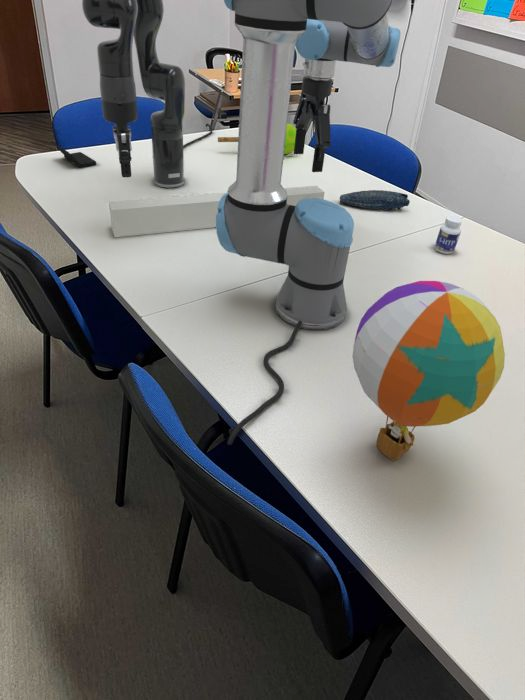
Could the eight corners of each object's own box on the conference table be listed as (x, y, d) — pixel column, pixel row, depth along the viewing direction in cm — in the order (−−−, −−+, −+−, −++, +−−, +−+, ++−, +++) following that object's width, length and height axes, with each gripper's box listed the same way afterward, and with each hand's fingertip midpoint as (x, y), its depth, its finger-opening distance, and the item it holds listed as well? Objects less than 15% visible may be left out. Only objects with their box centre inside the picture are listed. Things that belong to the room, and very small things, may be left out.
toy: (305, 441, 83) (335, 280, 64) (382, 391, 94) (427, 241, 75) (403, 527, 72) (474, 363, 53) (477, 460, 83) (558, 303, 64)
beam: (313, 209, 155) (316, 185, 150) (320, 216, 151) (324, 192, 147) (111, 228, 136) (108, 201, 131) (114, 237, 132) (111, 209, 128)
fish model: (408, 214, 157) (412, 198, 153) (339, 207, 158) (341, 191, 154) (406, 206, 162) (410, 190, 159) (339, 199, 163) (341, 183, 160)
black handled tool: (101, 157, 170) (79, 135, 162) (89, 175, 169) (67, 154, 161) (80, 153, 176) (58, 132, 168) (69, 170, 175) (46, 149, 167)
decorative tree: (215, 117, 188) (295, 117, 193) (215, 147, 195) (292, 146, 200) (221, 131, 174) (307, 131, 180) (221, 163, 181) (304, 161, 186)
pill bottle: (433, 251, 139) (442, 220, 133) (435, 243, 143) (444, 213, 137) (453, 256, 138) (464, 225, 132) (454, 247, 142) (465, 217, 136)
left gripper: (99, 88, 118) (107, 160, 128) (102, 105, 108) (110, 181, 118) (133, 89, 120) (138, 159, 130) (139, 105, 110) (144, 181, 120)
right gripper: (286, 65, 137) (279, 147, 151) (324, 90, 119) (312, 180, 133) (312, 66, 139) (303, 146, 153) (353, 90, 121) (338, 178, 135)
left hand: (125, 170), depth 124 cm, fingers open, 8 cm apart
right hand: (307, 162), depth 143 cm, fingers open, 13 cm apart
